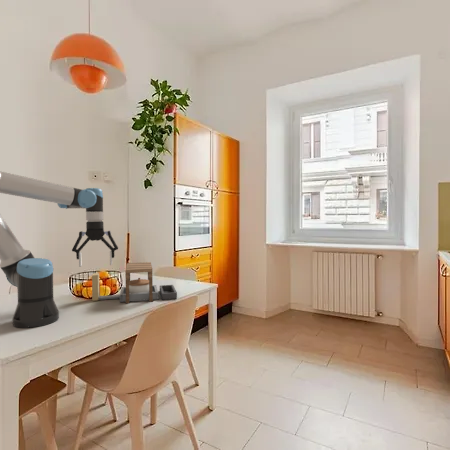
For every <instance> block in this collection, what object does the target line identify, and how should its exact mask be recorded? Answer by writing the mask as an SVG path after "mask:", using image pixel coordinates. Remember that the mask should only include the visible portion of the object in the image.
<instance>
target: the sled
mask: <svg viewBox="0 0 450 450" xmlns="http://www.w3.org/2000/svg"><path fill="white" fill-rule="evenodd" d="M91 283H92V285H91V293H92V294H91V296H92V297H91V299H92V301H93V302H94V301H95V302H96V301H97V302H98V301H100V300H101V301H104V300H114V299H115V300H117V299H119V302H120V303H122V302H123V303H126V286H123V287H121V289H120V293H119V294H113V295H111V294H110V295H100V273H98V272H95V273H92V275H91ZM155 300H159V290H158V286H157V284H156V285H155V284H154V285H153V301H155ZM139 301H149V293H135V294H130V293H129V302H139Z"/></svg>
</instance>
